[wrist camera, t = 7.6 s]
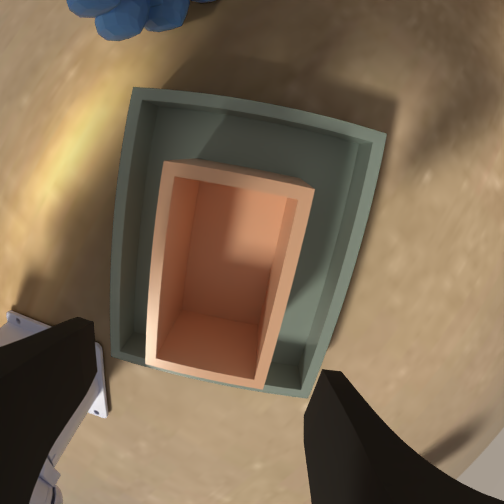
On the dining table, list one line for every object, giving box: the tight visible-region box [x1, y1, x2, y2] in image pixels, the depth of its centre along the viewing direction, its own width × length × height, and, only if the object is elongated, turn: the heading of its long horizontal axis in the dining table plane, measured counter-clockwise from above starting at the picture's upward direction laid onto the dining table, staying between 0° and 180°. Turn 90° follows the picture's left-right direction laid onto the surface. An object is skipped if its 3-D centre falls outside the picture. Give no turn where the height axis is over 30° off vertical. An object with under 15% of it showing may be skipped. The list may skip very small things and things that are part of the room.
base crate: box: [110, 87, 387, 398], centre depth 17 cm, size 12×15×3 cm
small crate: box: [145, 158, 315, 390], centre depth 15 cm, size 6×9×6 cm, turn 169°
